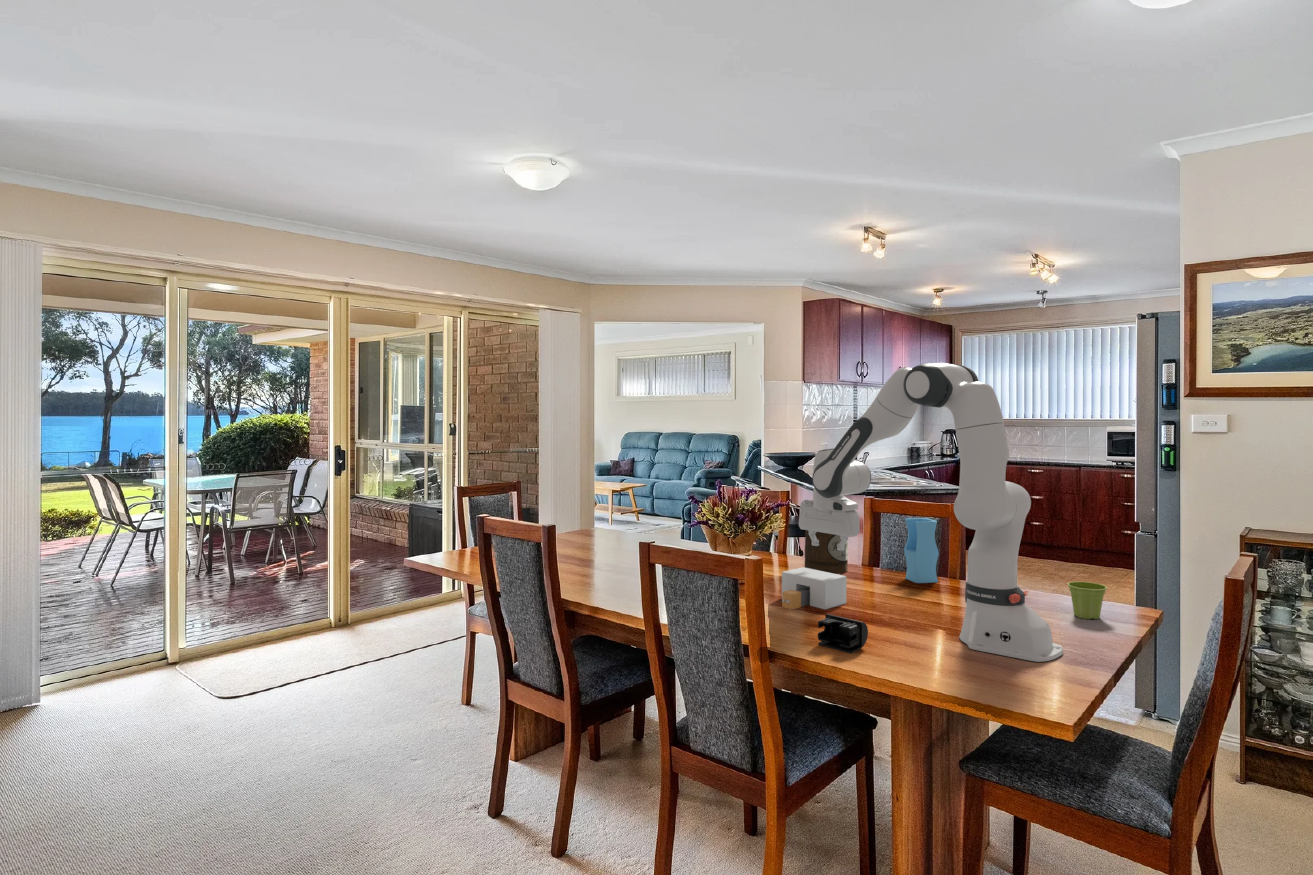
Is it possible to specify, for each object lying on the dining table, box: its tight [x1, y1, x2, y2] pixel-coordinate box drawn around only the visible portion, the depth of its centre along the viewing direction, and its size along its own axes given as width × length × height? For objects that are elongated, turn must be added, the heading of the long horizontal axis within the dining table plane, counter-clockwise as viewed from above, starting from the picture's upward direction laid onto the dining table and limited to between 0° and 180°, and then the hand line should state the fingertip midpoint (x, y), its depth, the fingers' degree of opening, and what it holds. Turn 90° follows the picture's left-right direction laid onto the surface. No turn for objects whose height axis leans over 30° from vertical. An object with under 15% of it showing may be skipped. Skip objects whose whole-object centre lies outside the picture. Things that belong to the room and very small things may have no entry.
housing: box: [781, 566, 848, 610], centre depth 217 cm, size 16×10×8 cm, turn 40°
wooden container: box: [804, 530, 849, 575], centre depth 258 cm, size 15×15×22 cm
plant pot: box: [1067, 581, 1108, 620], centre depth 200 cm, size 9×9×9 cm
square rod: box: [781, 587, 810, 610], centre depth 217 cm, size 4×26×4 cm, turn 130°
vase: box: [903, 517, 940, 584], centre depth 243 cm, size 8×8×20 cm
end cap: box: [817, 613, 869, 654], centre depth 176 cm, size 10×7×7 cm
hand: (827, 547), depth 221 cm, fingers open, 8 cm apart
